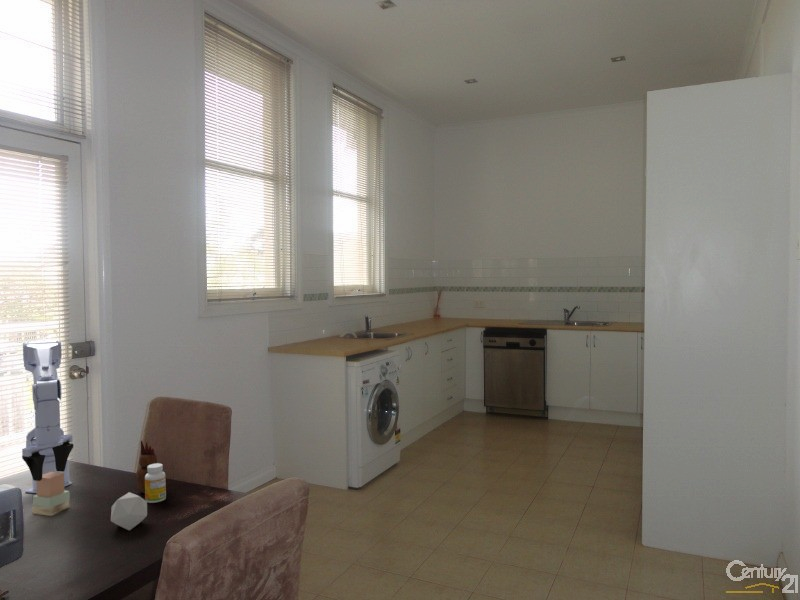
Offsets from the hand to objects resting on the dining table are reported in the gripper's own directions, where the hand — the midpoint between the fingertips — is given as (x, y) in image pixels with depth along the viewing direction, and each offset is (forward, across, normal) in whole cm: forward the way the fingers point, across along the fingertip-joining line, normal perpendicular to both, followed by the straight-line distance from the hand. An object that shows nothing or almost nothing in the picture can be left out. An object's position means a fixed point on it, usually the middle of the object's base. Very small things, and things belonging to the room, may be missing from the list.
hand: (49, 475), depth 159 cm
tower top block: (+7, 0, 0) cm, 7 cm away
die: (+10, -4, -28) cm, 30 cm away
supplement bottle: (+10, +13, -23) cm, 28 cm away
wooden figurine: (+10, +18, -17) cm, 27 cm away
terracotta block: (+5, 0, 0) cm, 5 cm away
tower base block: (+10, 0, 0) cm, 10 cm away
